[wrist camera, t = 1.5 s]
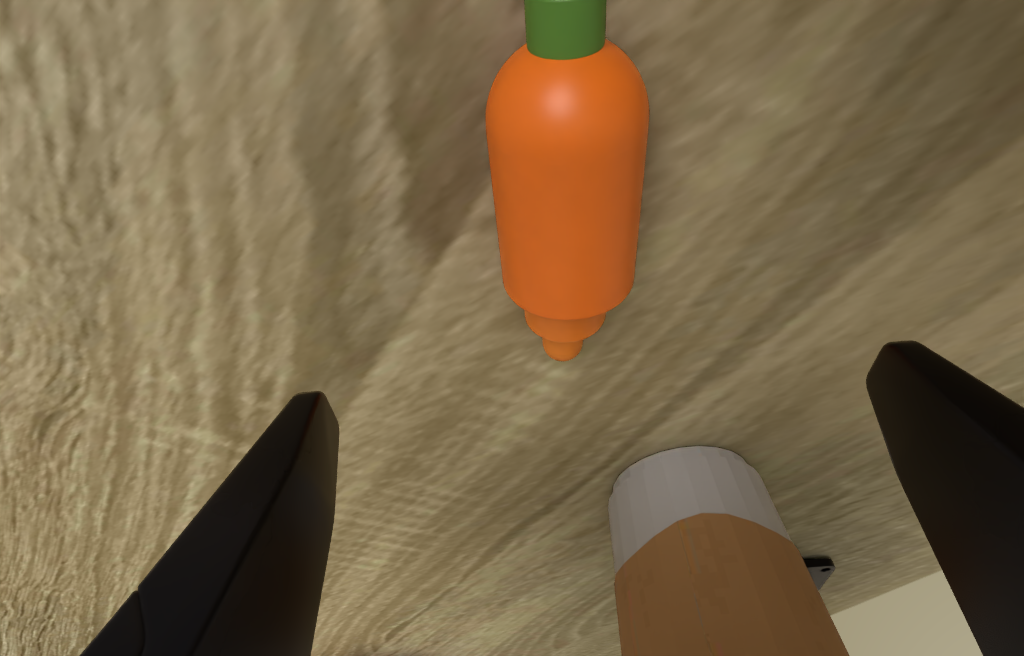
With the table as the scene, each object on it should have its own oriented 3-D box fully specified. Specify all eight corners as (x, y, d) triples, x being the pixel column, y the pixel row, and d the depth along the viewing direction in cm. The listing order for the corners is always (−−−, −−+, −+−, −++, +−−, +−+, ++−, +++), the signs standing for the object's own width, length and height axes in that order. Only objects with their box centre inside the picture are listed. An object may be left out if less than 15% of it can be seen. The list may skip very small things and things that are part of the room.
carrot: (609, 333, 18) (636, 415, 16) (509, 347, 18) (522, 431, 16) (633, -49, 11) (689, 3, 9) (464, -29, 11) (478, 28, 9)
